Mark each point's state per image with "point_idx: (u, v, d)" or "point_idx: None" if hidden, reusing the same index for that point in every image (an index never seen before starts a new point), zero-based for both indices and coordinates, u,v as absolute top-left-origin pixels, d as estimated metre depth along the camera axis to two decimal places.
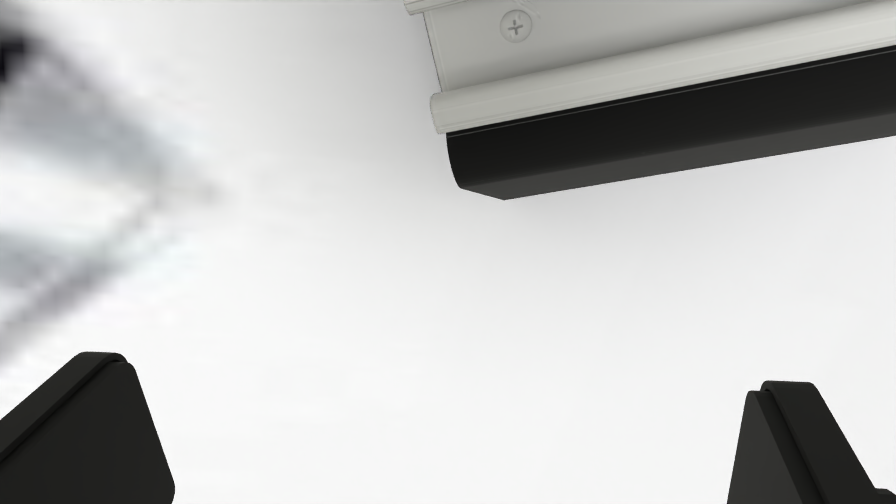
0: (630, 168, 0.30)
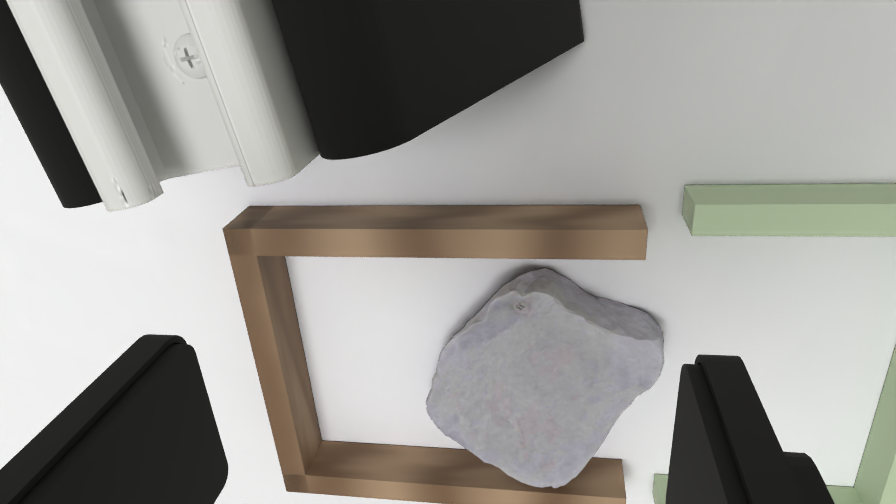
0: None
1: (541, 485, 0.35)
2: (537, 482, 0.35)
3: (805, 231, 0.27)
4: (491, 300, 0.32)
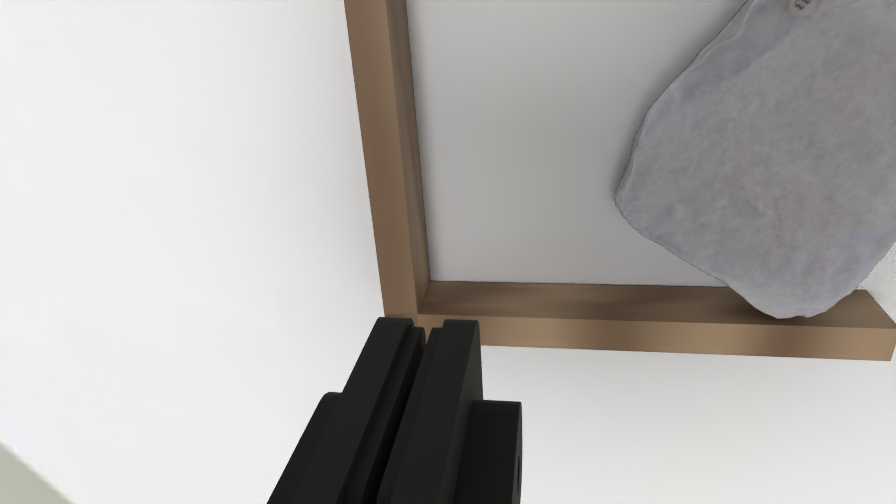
0: None
1: (793, 310, 0.24)
2: (788, 305, 0.24)
3: None
4: (750, 1, 0.21)
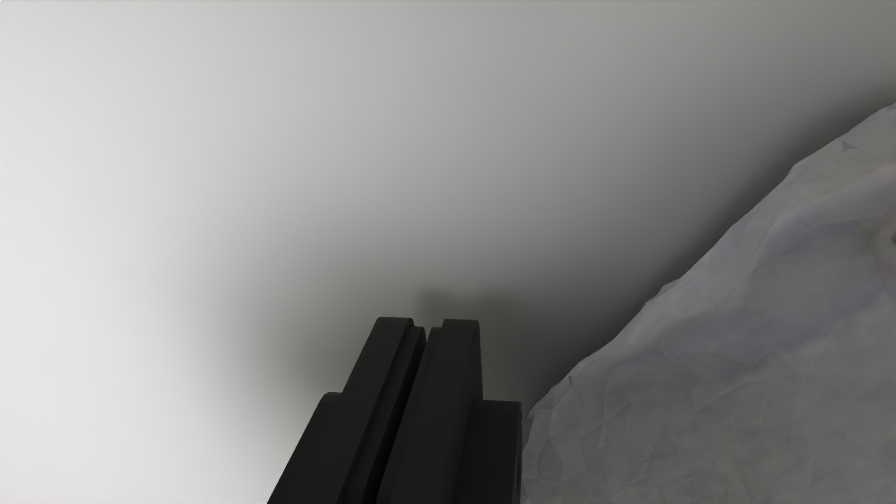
0: None
1: None
2: None
3: None
4: (764, 218, 0.07)
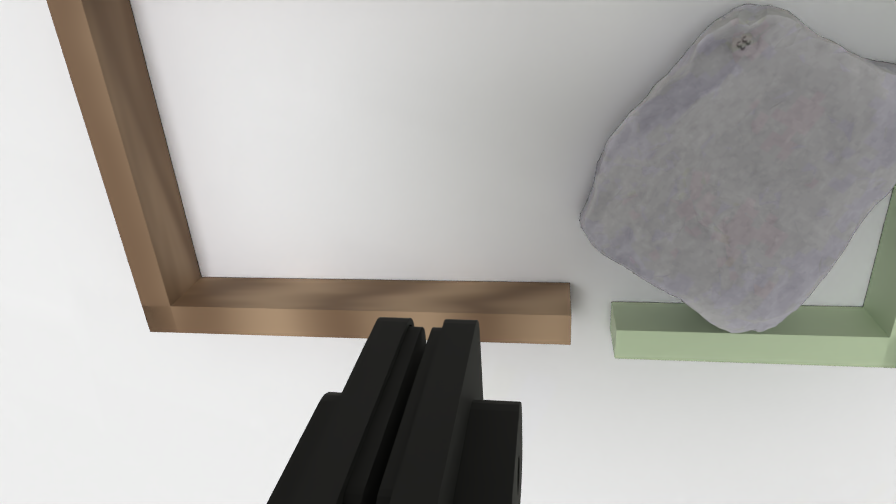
0: None
1: (745, 325, 0.25)
2: (740, 321, 0.25)
3: None
4: (697, 42, 0.22)
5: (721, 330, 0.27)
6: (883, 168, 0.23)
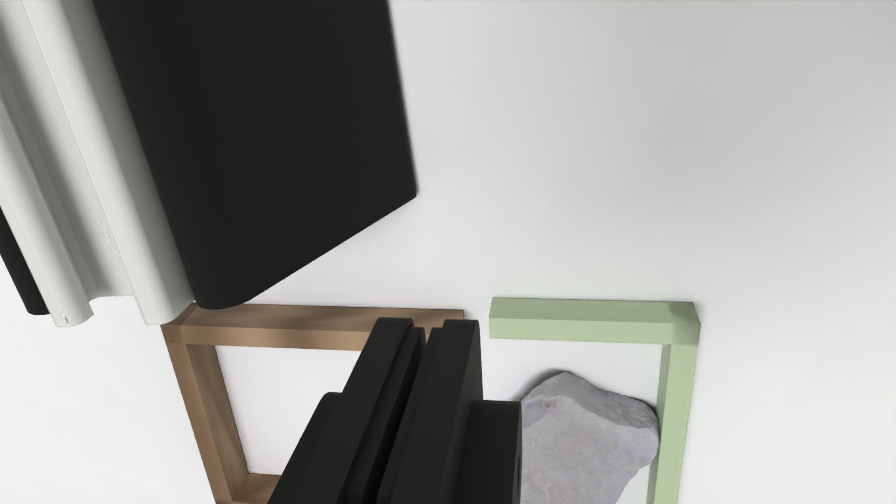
0: None
1: None
2: None
3: (565, 337, 0.39)
4: (525, 400, 0.42)
5: None
6: (628, 465, 0.42)
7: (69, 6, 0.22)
